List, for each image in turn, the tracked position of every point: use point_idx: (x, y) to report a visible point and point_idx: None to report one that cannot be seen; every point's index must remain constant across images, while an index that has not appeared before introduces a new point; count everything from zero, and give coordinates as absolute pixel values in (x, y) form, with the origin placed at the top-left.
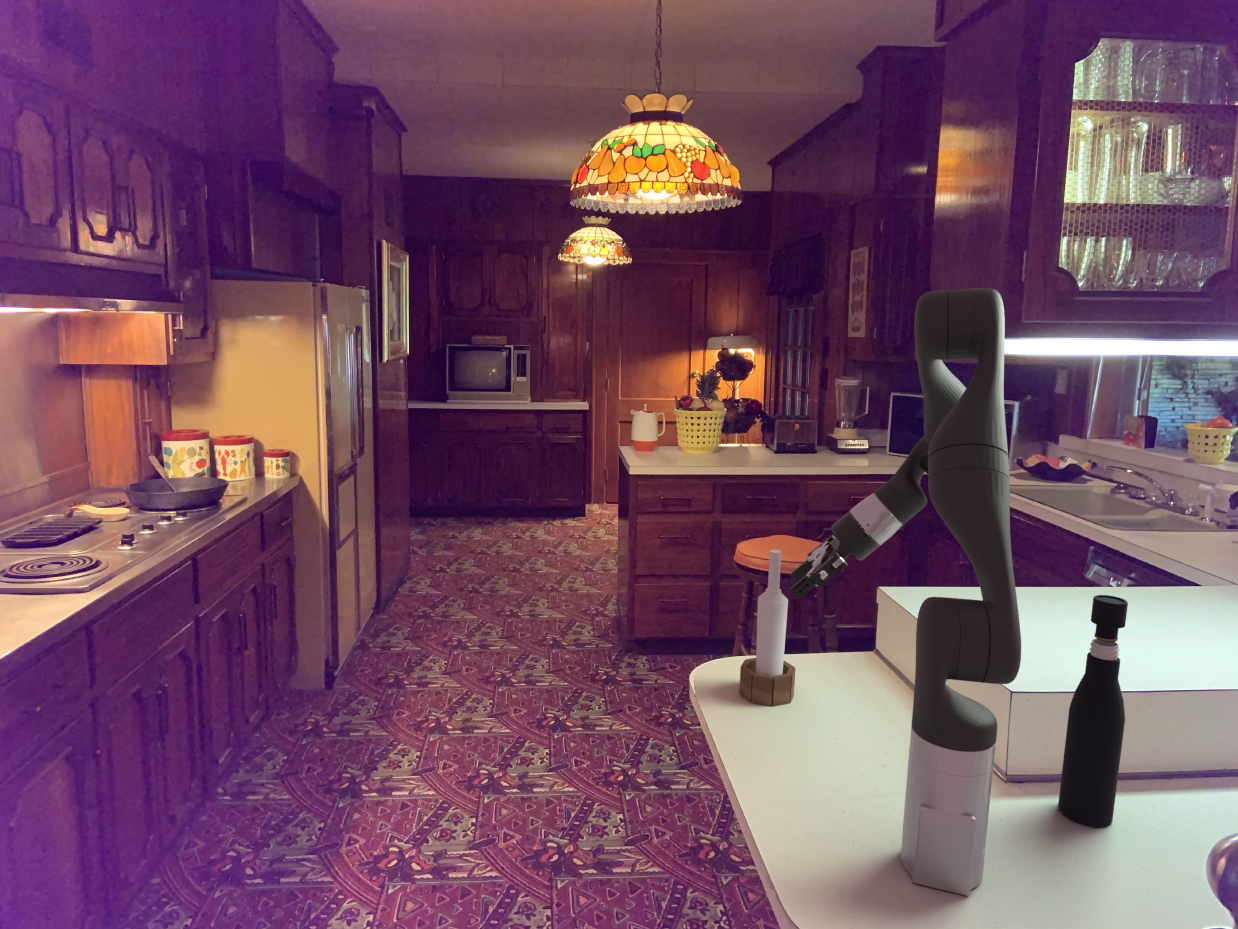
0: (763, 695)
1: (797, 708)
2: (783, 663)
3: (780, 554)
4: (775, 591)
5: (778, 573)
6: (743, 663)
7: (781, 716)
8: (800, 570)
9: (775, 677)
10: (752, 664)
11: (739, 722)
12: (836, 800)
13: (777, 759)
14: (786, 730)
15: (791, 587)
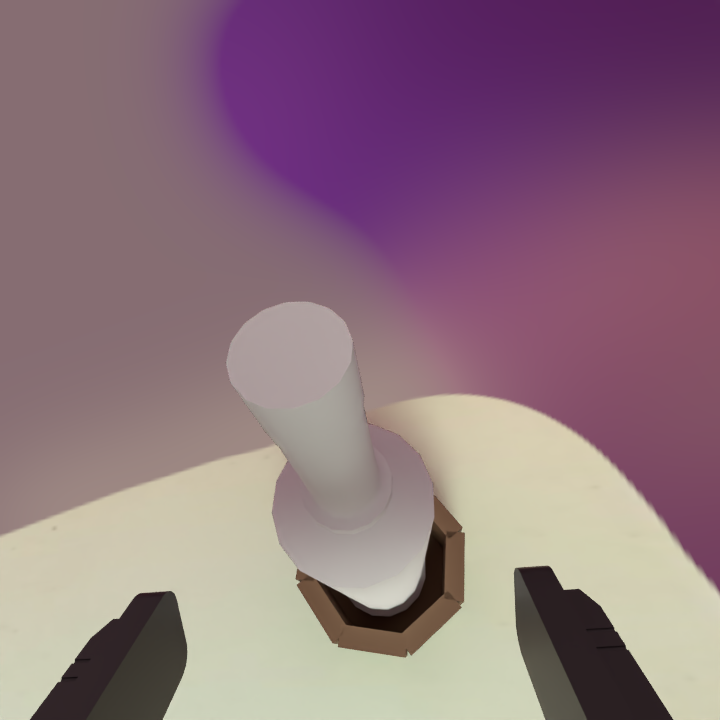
0: None
1: (319, 671)
2: (431, 607)
3: (260, 412)
4: (305, 496)
5: (297, 471)
6: None
7: (260, 623)
8: (551, 667)
9: (306, 587)
10: None
11: (213, 516)
12: None
13: (40, 627)
14: None
15: (152, 600)
